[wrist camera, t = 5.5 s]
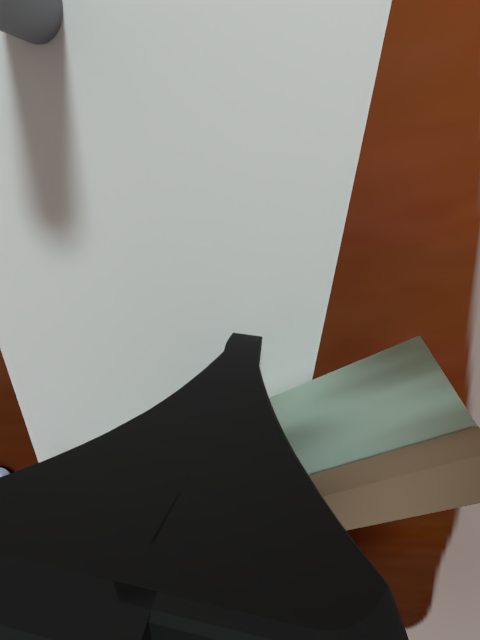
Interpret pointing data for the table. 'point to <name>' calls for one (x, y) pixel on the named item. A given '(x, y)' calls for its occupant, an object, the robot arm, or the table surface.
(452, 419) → the gate
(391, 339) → the table surface
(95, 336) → the gate board
